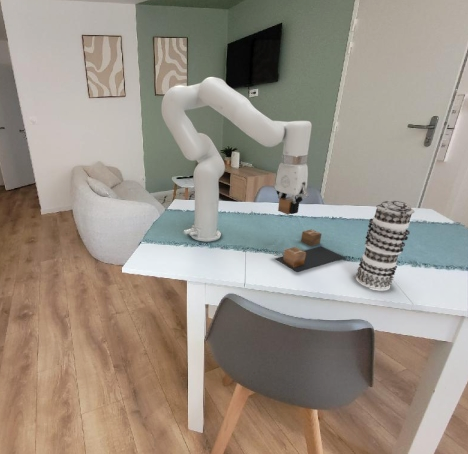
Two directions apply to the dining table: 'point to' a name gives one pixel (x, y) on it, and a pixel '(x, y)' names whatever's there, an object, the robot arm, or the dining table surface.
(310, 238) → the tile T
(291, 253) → the brown wooden cube
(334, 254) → the word mat
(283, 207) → the brown cube
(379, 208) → the decorative candle
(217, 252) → the dining table surface
